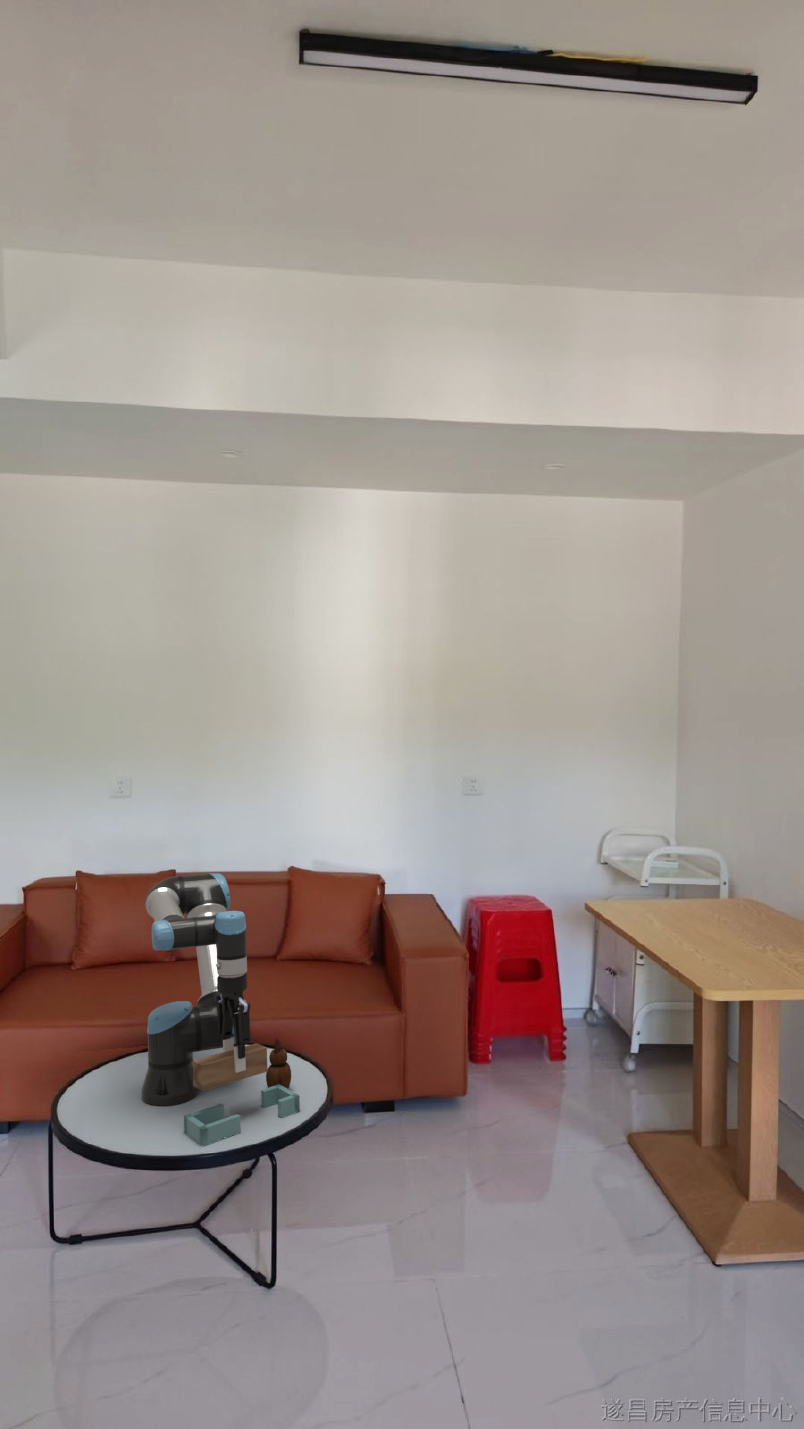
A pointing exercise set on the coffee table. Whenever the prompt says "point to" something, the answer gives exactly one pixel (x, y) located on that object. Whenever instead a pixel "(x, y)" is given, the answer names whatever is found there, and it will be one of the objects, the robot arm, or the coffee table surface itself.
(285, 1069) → the wooden figurine
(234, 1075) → the slat
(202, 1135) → the endcaps
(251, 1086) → the coffee table surface
